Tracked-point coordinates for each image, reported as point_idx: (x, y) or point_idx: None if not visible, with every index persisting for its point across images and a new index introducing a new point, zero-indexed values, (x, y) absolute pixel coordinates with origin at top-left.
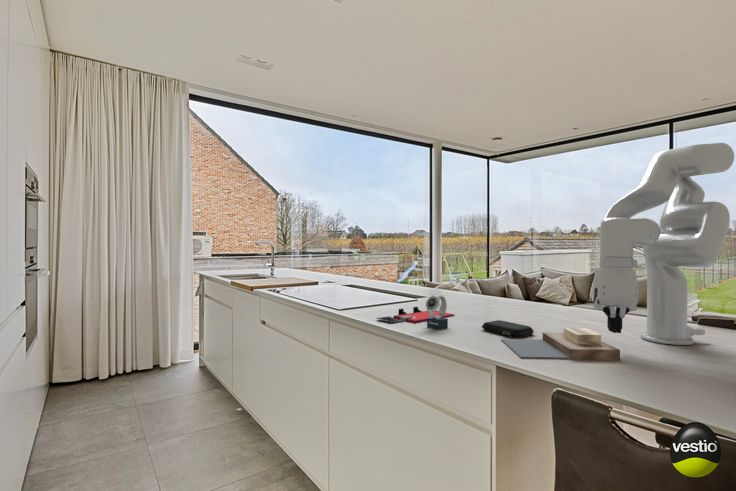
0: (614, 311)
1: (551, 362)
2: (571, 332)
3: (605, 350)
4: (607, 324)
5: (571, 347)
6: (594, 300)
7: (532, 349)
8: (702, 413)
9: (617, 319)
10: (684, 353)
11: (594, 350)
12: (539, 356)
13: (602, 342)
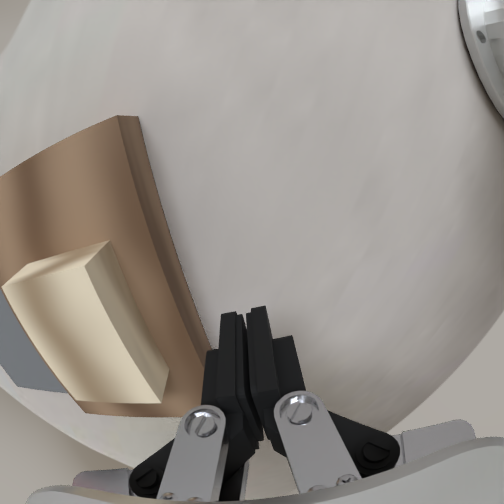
0: (241, 492)
1: (69, 406)
2: (47, 359)
3: (178, 414)
4: (205, 364)
5: (84, 402)
6: (39, 501)
7: (5, 335)
8: (258, 496)
9: (261, 437)
10: (487, 244)
11: (145, 414)
12: (39, 386)
13: (180, 339)
